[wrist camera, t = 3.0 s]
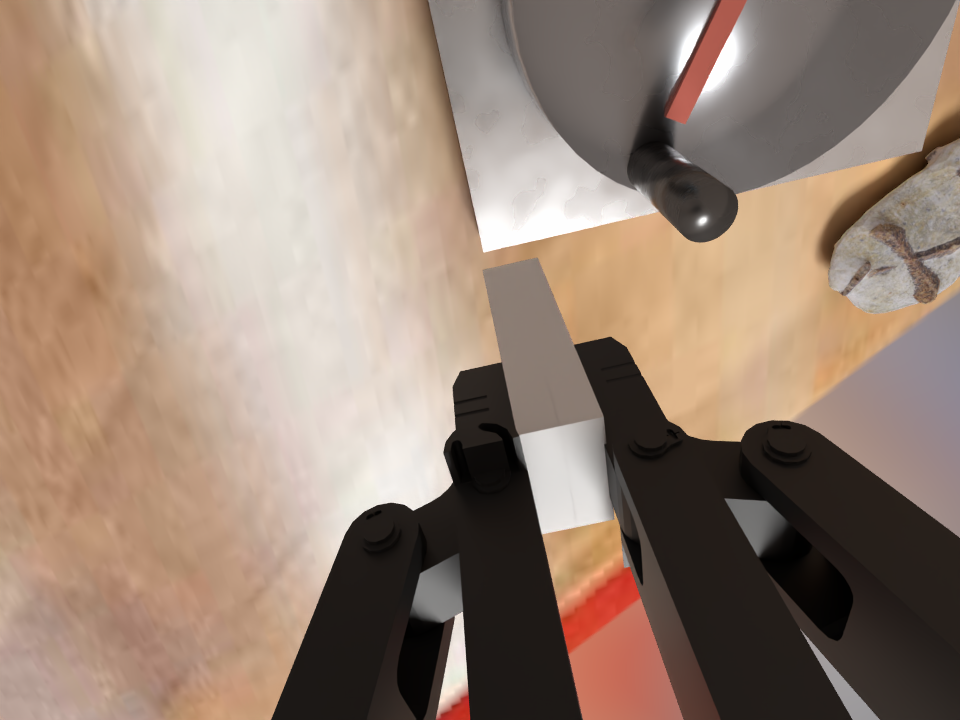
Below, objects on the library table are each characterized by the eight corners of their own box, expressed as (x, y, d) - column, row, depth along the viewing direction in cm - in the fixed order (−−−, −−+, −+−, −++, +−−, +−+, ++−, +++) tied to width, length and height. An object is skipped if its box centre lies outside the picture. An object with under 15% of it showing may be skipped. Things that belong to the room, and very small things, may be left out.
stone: (865, 320, 33) (897, 345, 31) (793, 257, 30) (823, 279, 28) (1028, 186, 29) (1077, 204, 27) (963, 98, 26) (1013, 110, 24)
